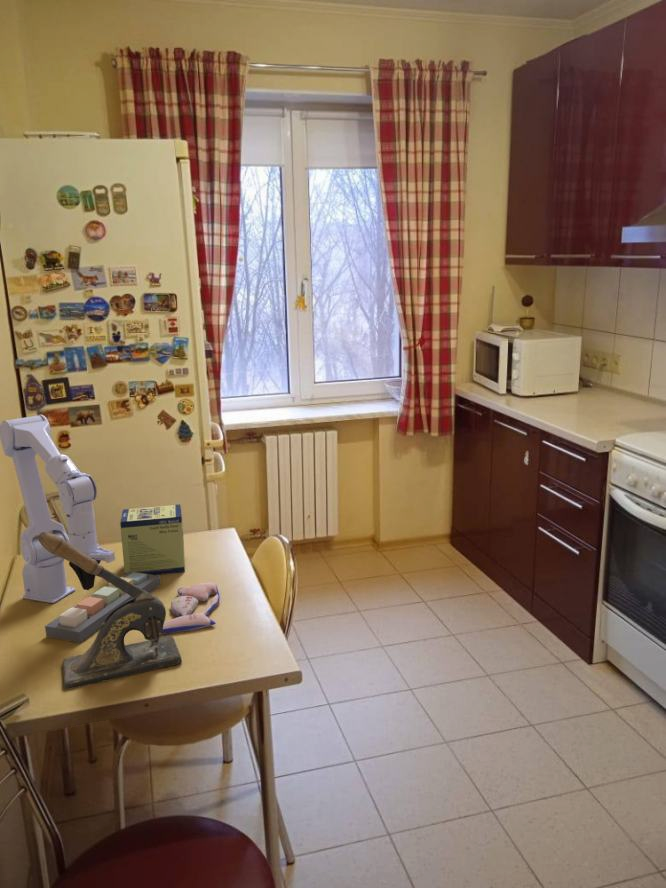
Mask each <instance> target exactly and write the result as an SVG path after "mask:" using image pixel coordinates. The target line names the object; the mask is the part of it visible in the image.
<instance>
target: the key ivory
mask: <svg viewBox="0 0 666 888" xmlns="http://www.w3.org/2000/svg"><path fill="white" fill-rule="evenodd" d="M58 617H59V618H60V625H63V626H69V627H74V628H76V627H77V626H79V625H80V624H82V623H83V622H85V621H86V620H88V618H87V610H85V609H79V608H74V606H73V607H70V608H68V609H67V610H65V611H64V612H63V613H60V614H59V615H58Z"/></svg>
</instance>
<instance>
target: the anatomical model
mask: <svg viewBox="0 0 666 888" xmlns="http://www.w3.org/2000/svg"><path fill="white" fill-rule="evenodd" d="M214 594H216V595H214ZM177 595H178V596H177V597H176V598H174V599H172V601H171V603H170V607H171V612H172V614H173V615H175V616H176V617H175V618H172V619H169V620H167V621H164V625H163V635H164V634H173V633H182V632H188V631H193V630H200V629H204V628H207V627H211V626H214V625H216V622H215V621H214V620H212V619H211V618H209V617H208V616H207V615H208V614H210V613H211V612H212V611H213V609H214V608H215V607H216V606H218V605H219V603H220V599H221V597H220V593H219V589H218V585H217V584H216V583H214V582H200V583H196V584H193V585H190V586H187V587H180V588H177ZM210 595H214V596H213V597H211V599H210V602H209V603H210V604H209V605H208V606H207V607H206V608H205V609H204V610H202V611H201V612H196V613H193V612H194V611H195V609H196V607H197V606H198V604H199V602H205V601H208V600H209V597H210ZM177 616H178V617H177Z"/></svg>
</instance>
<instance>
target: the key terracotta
mask: <svg viewBox="0 0 666 888" xmlns="http://www.w3.org/2000/svg"><path fill="white" fill-rule="evenodd" d="M76 606H77V608H79V609H85V610H87V615H90V616H93V615H95V614H96V613H98V612H99V611H101V610H102V609H104V603H103V599H101V598H95V597H91V596H87V597H85V598H84V599H82V600H81V601H79V602H77V604H76Z"/></svg>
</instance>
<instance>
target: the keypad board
mask: <svg viewBox="0 0 666 888" xmlns="http://www.w3.org/2000/svg"><path fill="white" fill-rule="evenodd" d="M131 573H133V572H131V571H129V572H128V573H126V574H125V573H124V574H123V575H122V576H121V577H123V578H125V577H127V576H128V575H130V574H131ZM135 573H137V572H135ZM142 574H144V573H142ZM133 585H135V586H136V587H138V588H140V589H143V590H145V591H147V592H149V593H150V594H151V593H152V592H154V591H155V590H156V589H157V588H158V587H160V586H161V576H160V575H151V574H147V579H146V580H144V581H143V582H141V583H140V584H139V585H136V584H133ZM105 587H109V584H108V585H106V586H105ZM90 597H93V594H92V595H91V596H90ZM131 599H133V597H132V596H130V595H128V594H127V593H125V594H124V595H123V594H119V598H118V599H117V600H115V601H114V602H112V603H111V604H109V605H106V604H104V609H102V610H101V611H99V612H98V613H96V614H95V615H93V616H90V615H87V618H88V620H86V621H85V622H83V623H82V624H80V625H79V626H77V627H76V628H74V627H69V626H63V625H60V618H59V616H58V617H57V618H56V619H53V620H52V621H51V622H49V623H47V624H45V626H44V628H45V636H46V637H47V638H53V639H58V640H63V641H68V642H71V643H72V642H74V643H77V644H81V643H82V642H84V641H85V640H87V639H88V638H89V637H90V636H92V635H94V634H95V633H97V632H99V630H100V628H101V624H102V623H103V622H104V621H105V619H106V618H107V617H108V615H109V614H110V613H111V612H112V611H113V610H114V609H116V608H117V607H118V606H120V605H122V604H123V603H125V602H127V601H128V600H131ZM73 608H77V605H75V606H73Z"/></svg>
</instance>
